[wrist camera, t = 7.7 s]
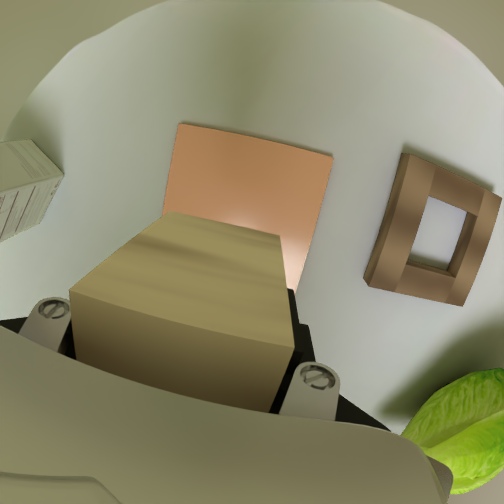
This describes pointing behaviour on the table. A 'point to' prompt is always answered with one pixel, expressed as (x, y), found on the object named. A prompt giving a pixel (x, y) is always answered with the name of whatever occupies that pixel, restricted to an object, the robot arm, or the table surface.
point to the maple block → (190, 312)
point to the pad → (250, 187)
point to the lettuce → (464, 428)
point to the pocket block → (406, 226)
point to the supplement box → (24, 186)
